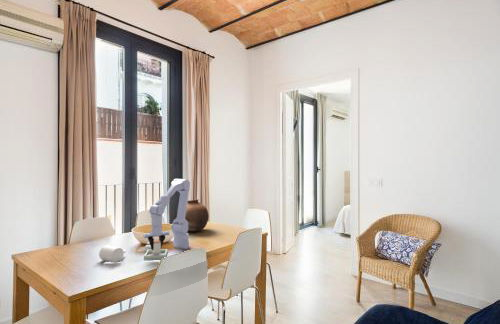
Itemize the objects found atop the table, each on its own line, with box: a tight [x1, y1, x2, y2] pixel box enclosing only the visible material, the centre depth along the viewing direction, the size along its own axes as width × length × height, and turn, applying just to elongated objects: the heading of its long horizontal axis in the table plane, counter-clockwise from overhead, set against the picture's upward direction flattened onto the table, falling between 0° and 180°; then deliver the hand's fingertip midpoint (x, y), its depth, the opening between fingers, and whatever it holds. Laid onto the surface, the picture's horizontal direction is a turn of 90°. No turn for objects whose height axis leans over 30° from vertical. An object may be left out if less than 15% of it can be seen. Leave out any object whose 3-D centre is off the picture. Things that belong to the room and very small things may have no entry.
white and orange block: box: [151, 239, 162, 255], centre depth 171 cm, size 4×4×7 cm
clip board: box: [135, 241, 152, 253], centre depth 182 cm, size 14×10×4 cm
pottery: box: [185, 198, 210, 232], centre depth 234 cm, size 23×23×25 cm
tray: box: [143, 248, 169, 260], centre depth 171 cm, size 12×12×2 cm
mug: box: [98, 244, 126, 264], centre depth 164 cm, size 12×10×8 cm
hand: (156, 248), depth 171 cm, fingers closed on white and orange block, 4 cm apart
